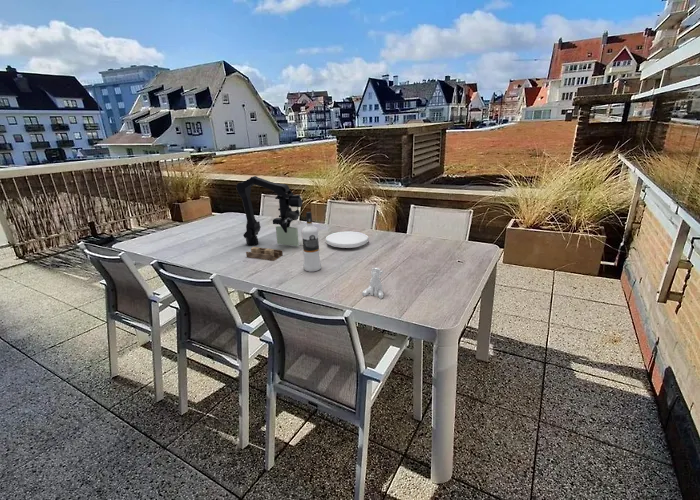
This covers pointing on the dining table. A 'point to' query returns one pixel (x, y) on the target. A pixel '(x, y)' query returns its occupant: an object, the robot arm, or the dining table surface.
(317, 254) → the vodka
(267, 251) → the offcut
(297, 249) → the dining table surface
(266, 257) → the rack
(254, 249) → the offcut
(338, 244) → the plate
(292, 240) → the green rectangular slab
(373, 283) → the sitting furry creature
